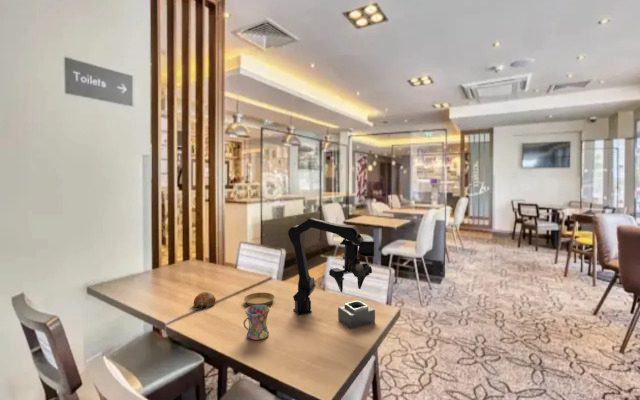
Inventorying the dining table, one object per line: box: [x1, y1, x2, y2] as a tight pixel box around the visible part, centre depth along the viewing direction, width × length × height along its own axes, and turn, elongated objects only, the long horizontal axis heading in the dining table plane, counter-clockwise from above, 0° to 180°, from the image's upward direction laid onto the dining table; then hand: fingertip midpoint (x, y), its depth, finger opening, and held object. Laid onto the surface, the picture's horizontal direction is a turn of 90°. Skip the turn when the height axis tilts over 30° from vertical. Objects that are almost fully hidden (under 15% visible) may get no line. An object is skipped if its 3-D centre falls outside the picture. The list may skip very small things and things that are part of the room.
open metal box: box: [337, 300, 376, 330], centre depth 139 cm, size 12×10×7 cm
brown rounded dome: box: [193, 291, 217, 309], centre depth 158 cm, size 10×10×8 cm
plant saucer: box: [243, 292, 275, 307], centre depth 160 cm, size 15×15×3 cm
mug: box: [242, 305, 270, 341], centre depth 125 cm, size 12×9×11 cm
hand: (350, 290), depth 142 cm, fingers open, 9 cm apart
